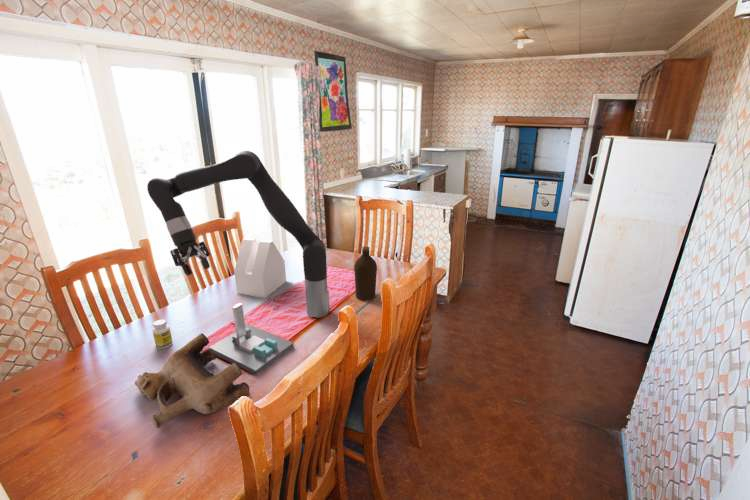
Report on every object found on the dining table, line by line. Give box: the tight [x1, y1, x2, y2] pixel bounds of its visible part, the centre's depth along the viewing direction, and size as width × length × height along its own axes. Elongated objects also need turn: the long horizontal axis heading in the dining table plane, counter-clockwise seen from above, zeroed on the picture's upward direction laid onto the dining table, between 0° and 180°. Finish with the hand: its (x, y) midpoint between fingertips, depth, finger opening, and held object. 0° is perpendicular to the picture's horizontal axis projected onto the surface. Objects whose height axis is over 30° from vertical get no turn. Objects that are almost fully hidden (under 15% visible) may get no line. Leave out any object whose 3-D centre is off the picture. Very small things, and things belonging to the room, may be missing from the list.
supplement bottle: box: [152, 319, 173, 350], centre depth 131 cm, size 5×5×10 cm
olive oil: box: [353, 246, 378, 301], centre depth 166 cm, size 11×11×25 cm
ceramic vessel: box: [134, 333, 250, 429], centre depth 108 cm, size 13×31×25 cm
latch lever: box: [232, 303, 246, 339], centre depth 130 cm, size 3×1×13 cm, turn 150°
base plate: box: [208, 323, 294, 376], centre depth 130 cm, size 18×24×6 cm
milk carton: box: [233, 237, 287, 299], centre depth 174 cm, size 19×15×25 cm
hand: (198, 271), depth 133 cm, fingers open, 8 cm apart
